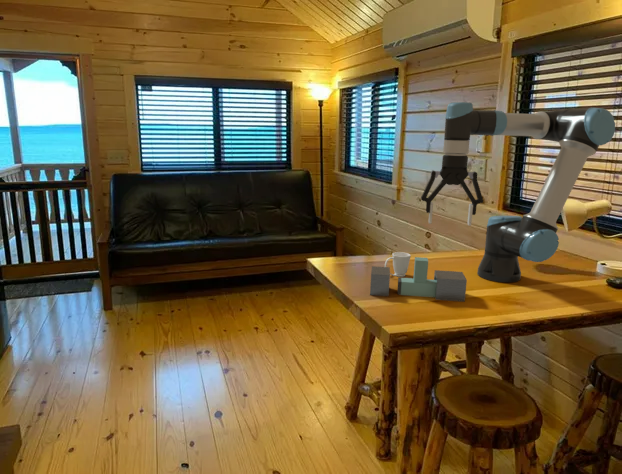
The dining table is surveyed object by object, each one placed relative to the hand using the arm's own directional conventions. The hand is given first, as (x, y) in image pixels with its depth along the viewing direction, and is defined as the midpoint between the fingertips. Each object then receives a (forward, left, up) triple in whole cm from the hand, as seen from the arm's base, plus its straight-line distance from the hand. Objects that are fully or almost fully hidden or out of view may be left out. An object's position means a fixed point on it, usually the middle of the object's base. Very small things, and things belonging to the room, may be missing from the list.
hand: (449, 223), depth 150 cm
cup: (+15, -19, -24) cm, 34 cm away
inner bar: (+4, 0, -24) cm, 25 cm away
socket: (+21, 0, -24) cm, 32 cm away
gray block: (-2, 0, -24) cm, 24 cm away
